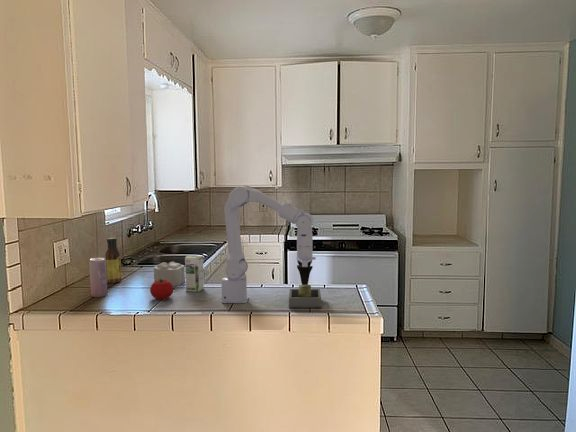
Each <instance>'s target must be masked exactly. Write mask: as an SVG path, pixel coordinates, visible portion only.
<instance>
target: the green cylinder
mask: <svg viewBox="0 0 576 432" xmlns="http://www.w3.org/2000/svg"><path fill="white" fill-rule="evenodd" d="M298 289H299V297H311V289H312V286H311V285H310V284H308V285H302V284H299V285H298Z"/></svg>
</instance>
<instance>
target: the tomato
mask: <svg viewBox="0 0 576 432" xmlns="http://www.w3.org/2000/svg"><path fill="white" fill-rule="evenodd" d="M149 292H150V294H151V296H152V297H153V298H155V299H156V300H160V301H162V300H166V299H169V298H170V297H172V294H173V292H174V286H173V285H172V283H171V282H170V281H168V280H162V279H161V280H160V279H159V280H158V281H155V282H153V283H152V284H151V286H150V290H149Z"/></svg>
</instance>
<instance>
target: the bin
mask: <svg viewBox="0 0 576 432" xmlns="http://www.w3.org/2000/svg"><path fill="white" fill-rule="evenodd" d="M288 309H289V310H296V309H297V310H300V309H301V310H302V309H303V310H311V309H312V310H321V309H322V295H321V288H311V297H299V288H289V295H288Z"/></svg>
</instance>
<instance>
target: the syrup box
mask: <svg viewBox="0 0 576 432" xmlns="http://www.w3.org/2000/svg"><path fill="white" fill-rule="evenodd" d="M184 273H185V291H186V292H195V293H199V292H201V291H202V290H204V288H205V286H204V285H205V284H204V280H205V279H204V255H197V254H196V255H195V254H190V255H187V256H185V257H184Z"/></svg>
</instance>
